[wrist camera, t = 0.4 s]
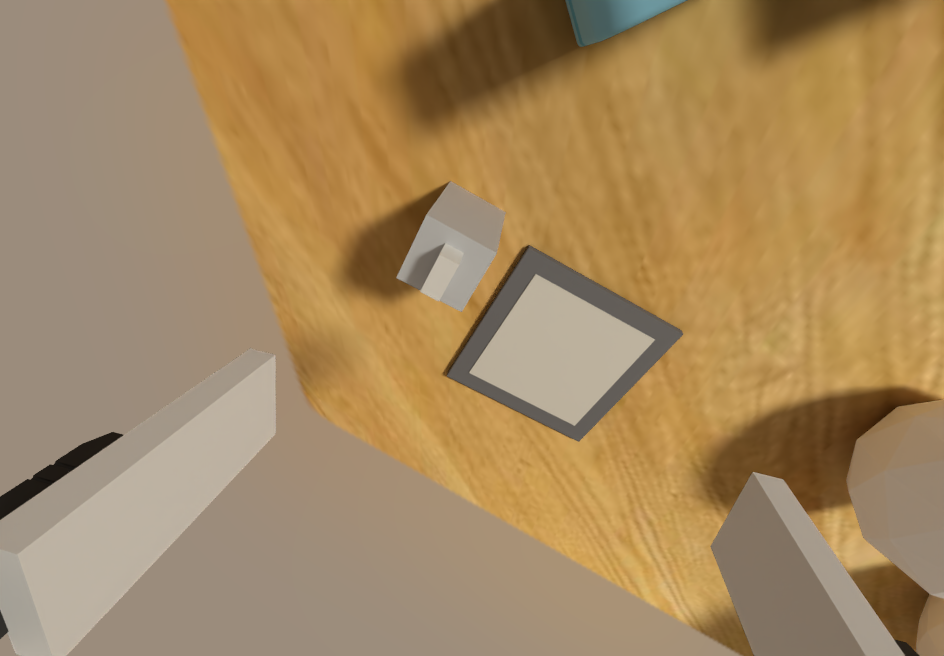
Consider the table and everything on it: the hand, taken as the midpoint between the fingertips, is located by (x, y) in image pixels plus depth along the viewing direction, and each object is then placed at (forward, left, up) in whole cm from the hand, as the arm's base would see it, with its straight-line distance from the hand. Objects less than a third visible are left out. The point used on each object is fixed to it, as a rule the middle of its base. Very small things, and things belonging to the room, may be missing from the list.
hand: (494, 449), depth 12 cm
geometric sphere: (0, +38, -23) cm, 44 cm away
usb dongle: (+3, -3, -23) cm, 24 cm away
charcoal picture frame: (+9, +9, -23) cm, 26 cm away
